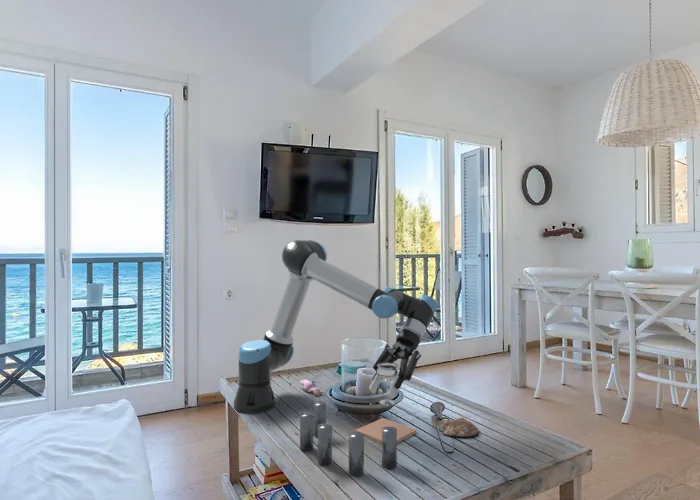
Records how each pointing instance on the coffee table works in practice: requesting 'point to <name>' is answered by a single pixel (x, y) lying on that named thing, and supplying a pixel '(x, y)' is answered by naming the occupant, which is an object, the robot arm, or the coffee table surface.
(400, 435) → the terracotta tile
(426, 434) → the coffee table surface
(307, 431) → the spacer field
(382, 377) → the wineglass
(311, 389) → the rabbit figure
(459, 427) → the shell
